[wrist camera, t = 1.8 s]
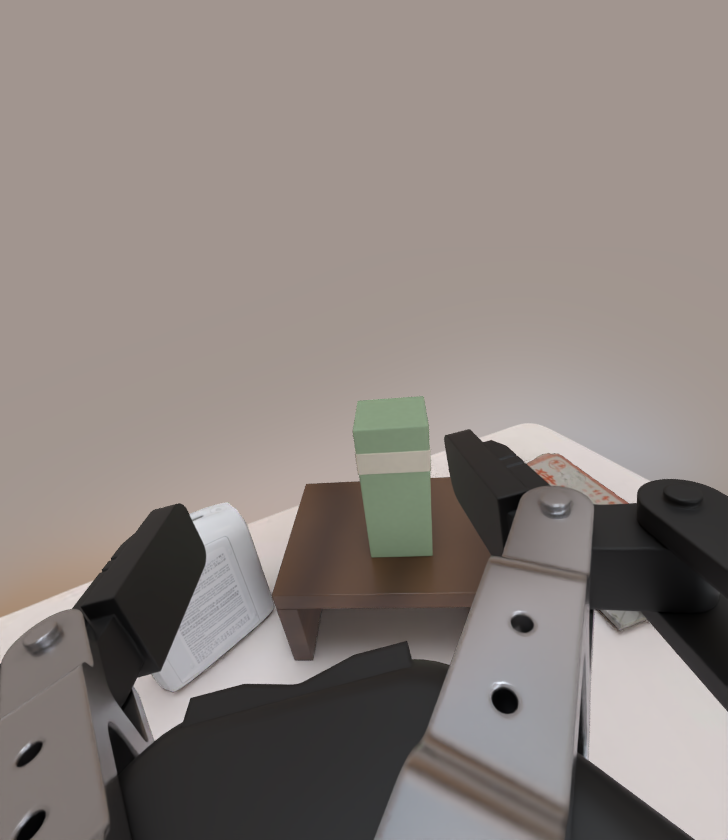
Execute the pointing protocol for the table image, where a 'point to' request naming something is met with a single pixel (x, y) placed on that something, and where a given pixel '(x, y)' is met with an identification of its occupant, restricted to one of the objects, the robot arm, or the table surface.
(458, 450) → the robot arm
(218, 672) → the table surface
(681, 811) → the table surface
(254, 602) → the photo printer
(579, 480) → the packaged product
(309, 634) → the shelf stand
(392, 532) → the box
